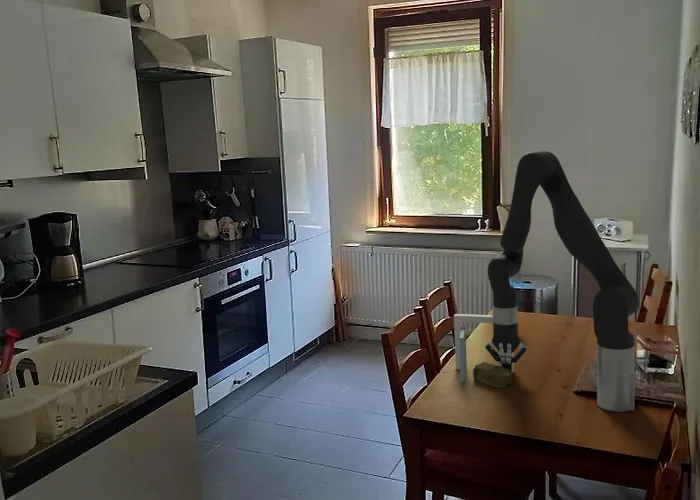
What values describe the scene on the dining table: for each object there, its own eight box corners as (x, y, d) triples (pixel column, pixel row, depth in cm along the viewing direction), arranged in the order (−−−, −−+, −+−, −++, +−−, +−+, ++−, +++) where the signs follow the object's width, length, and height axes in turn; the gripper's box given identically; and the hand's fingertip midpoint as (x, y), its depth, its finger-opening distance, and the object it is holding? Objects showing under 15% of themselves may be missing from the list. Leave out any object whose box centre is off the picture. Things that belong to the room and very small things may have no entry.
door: (465, 381, 197) (463, 337, 195) (460, 381, 198) (459, 337, 196) (466, 368, 209) (465, 327, 206) (462, 368, 209) (460, 327, 207)
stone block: (484, 375, 203) (484, 360, 202) (513, 385, 194) (513, 369, 193) (471, 380, 200) (471, 365, 199) (501, 390, 190) (500, 374, 190)
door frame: (513, 370, 205) (512, 316, 202) (512, 372, 203) (511, 317, 200) (457, 366, 212) (455, 313, 209) (455, 368, 210) (453, 315, 207)
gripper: (481, 322, 194) (483, 377, 197) (526, 324, 189) (527, 380, 192) (485, 316, 201) (487, 368, 204) (529, 317, 196) (530, 372, 199)
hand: (507, 374), depth 198 cm, fingers closed
